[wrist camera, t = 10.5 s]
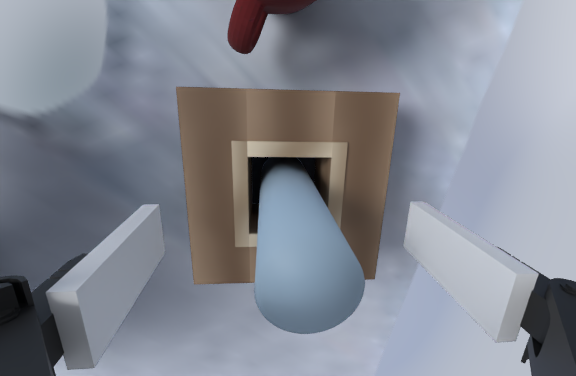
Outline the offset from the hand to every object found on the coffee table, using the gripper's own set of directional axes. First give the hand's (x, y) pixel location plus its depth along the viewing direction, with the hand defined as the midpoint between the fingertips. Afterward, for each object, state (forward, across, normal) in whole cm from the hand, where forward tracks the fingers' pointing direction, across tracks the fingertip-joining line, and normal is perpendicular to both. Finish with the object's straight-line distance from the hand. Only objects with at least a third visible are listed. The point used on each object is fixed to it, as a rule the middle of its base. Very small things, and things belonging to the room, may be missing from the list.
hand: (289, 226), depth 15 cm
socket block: (+11, 0, 0) cm, 11 cm away
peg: (+11, 0, 0) cm, 11 cm away
